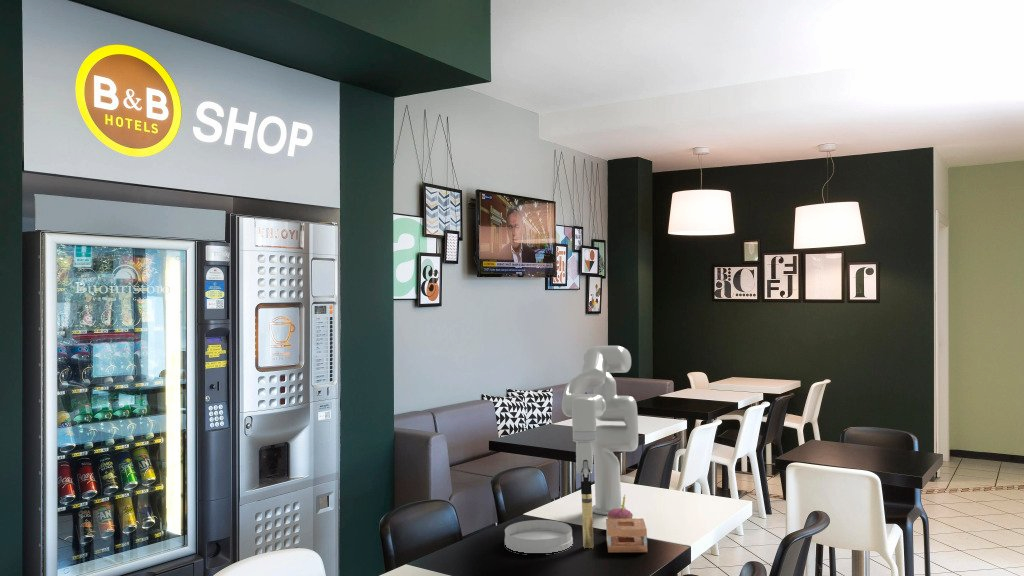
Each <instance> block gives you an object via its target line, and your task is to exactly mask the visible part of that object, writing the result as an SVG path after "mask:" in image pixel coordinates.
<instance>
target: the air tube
mask: <svg viewBox="0 0 1024 576" xmlns="http://www.w3.org/2000/svg"><path fill="white" fill-rule="evenodd" d="M592 494H593V493H591V494H581V512H582V513H581V514H582V516H581V517H582V544H583V546H582V547H584V548H583V549H585V548H589V549H588V550H591V549H590V548H592V549H594V548H595V547H594V545H595V543H594V523H593V522H594V521H593V512H592V506H593V495H592ZM593 547H594V548H593Z"/></svg>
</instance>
